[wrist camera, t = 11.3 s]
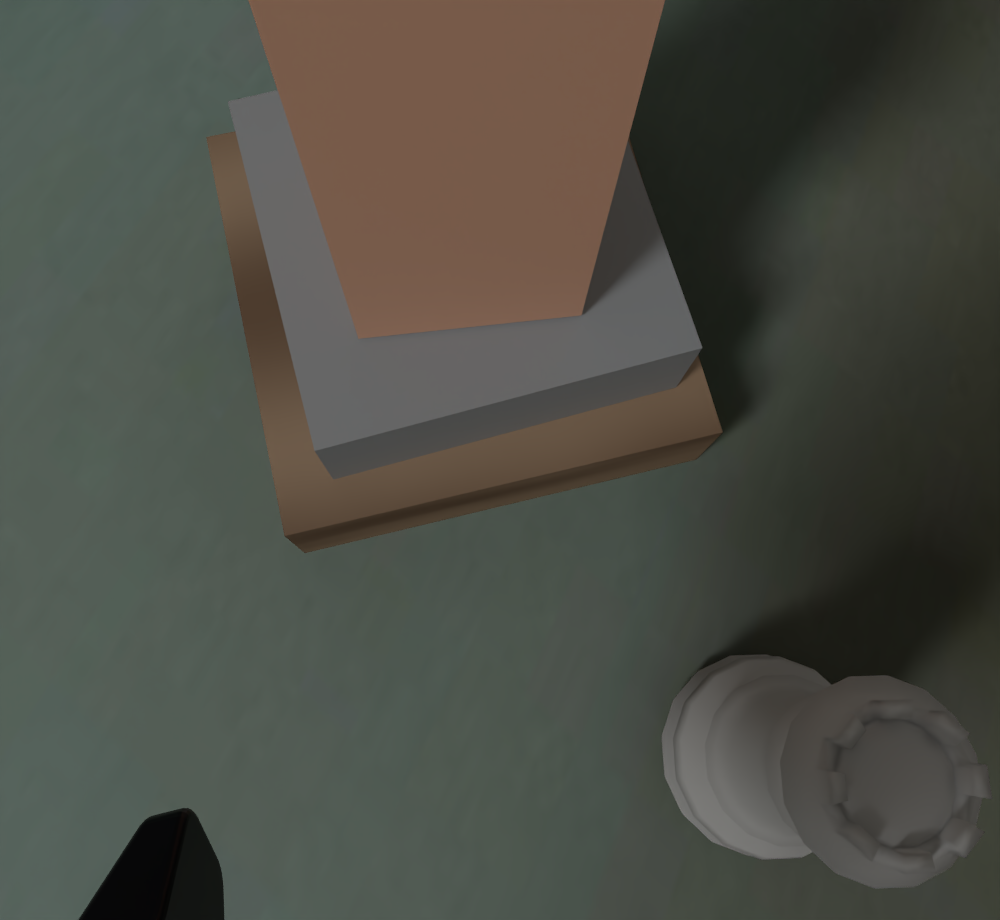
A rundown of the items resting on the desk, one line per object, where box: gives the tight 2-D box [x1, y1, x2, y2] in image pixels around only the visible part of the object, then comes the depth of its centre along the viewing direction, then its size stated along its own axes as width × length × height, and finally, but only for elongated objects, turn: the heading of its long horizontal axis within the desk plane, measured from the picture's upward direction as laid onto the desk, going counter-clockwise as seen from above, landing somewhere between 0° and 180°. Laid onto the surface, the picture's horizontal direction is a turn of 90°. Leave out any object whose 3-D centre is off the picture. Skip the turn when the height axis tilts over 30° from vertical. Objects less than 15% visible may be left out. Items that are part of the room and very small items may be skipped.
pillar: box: [249, 0, 665, 339], centre depth 13 cm, size 4×4×12 cm
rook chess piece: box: [662, 654, 992, 889], centre depth 18 cm, size 4×4×8 cm
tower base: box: [206, 132, 723, 553], centre depth 23 cm, size 10×10×3 cm
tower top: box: [228, 90, 702, 480], centre depth 20 cm, size 8×8×2 cm
